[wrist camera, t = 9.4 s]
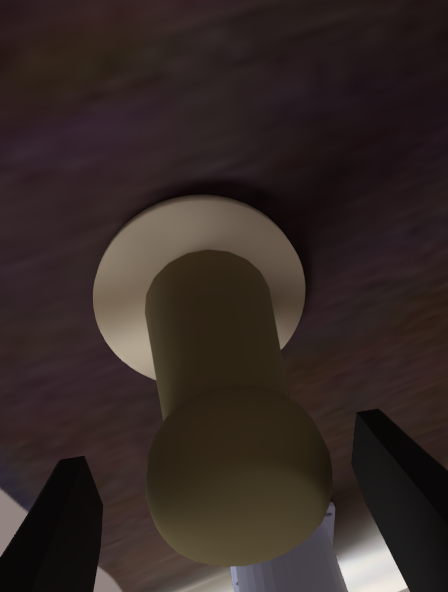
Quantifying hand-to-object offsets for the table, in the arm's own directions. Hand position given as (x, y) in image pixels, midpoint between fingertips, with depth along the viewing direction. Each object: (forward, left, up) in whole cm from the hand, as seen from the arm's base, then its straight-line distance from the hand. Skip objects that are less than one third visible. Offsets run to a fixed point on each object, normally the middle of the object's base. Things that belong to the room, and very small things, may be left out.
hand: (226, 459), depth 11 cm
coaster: (-1, 0, -10) cm, 11 cm away
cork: (-1, 0, -10) cm, 10 cm away
